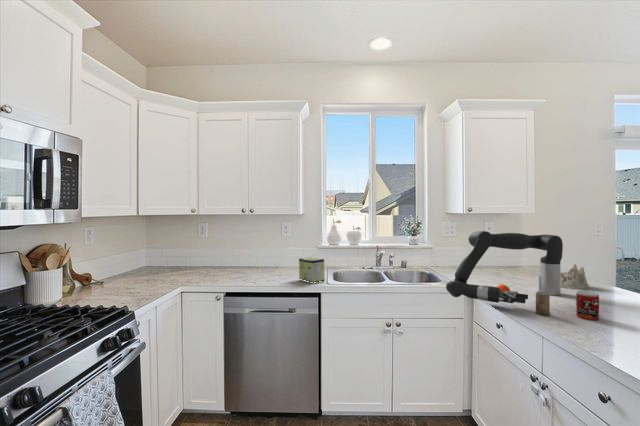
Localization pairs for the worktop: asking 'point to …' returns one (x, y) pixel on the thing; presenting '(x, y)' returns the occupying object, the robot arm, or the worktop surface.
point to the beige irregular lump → (574, 279)
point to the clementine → (503, 287)
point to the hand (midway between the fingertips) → (526, 299)
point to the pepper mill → (542, 303)
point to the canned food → (587, 305)
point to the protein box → (311, 269)
